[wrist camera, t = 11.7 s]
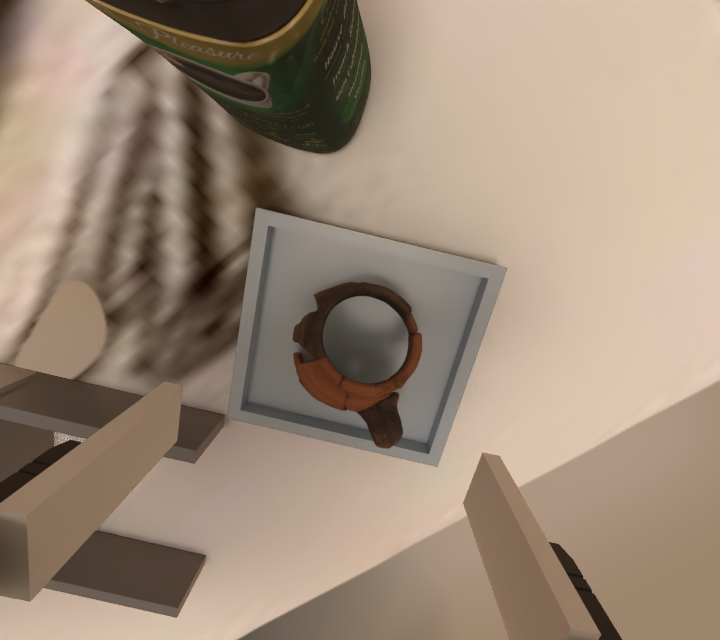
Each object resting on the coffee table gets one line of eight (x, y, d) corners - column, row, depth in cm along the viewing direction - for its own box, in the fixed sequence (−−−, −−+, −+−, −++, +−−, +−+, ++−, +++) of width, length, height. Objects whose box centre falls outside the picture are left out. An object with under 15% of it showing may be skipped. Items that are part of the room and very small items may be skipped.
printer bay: (-13, 515, 35) (-124, 596, 27) (-28, 356, 30) (-168, 401, 22) (204, 564, 35) (155, 658, 27) (224, 415, 30) (172, 479, 23)
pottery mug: (269, 328, 28) (266, 307, 20) (366, 282, 30) (398, 246, 22) (337, 461, 27) (362, 493, 19) (430, 401, 30) (486, 408, 22)
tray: (237, 404, 30) (226, 418, 28) (266, 209, 25) (256, 207, 23) (433, 450, 30) (437, 466, 28) (496, 264, 26) (507, 268, 23)
